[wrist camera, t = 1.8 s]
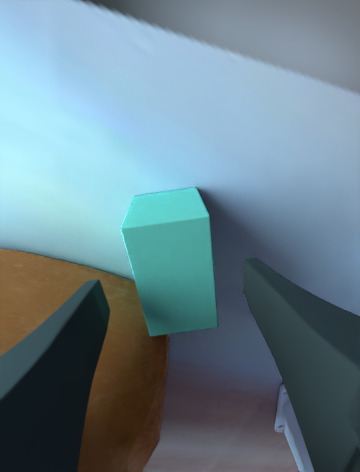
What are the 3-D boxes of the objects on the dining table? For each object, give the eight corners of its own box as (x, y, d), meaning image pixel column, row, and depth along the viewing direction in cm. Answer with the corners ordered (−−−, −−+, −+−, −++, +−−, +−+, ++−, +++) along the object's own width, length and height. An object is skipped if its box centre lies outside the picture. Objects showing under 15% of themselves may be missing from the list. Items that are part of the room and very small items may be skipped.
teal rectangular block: (204, 275, 18) (218, 327, 13) (153, 282, 18) (149, 337, 13) (196, 186, 14) (210, 215, 10) (133, 195, 14) (119, 228, 10)
